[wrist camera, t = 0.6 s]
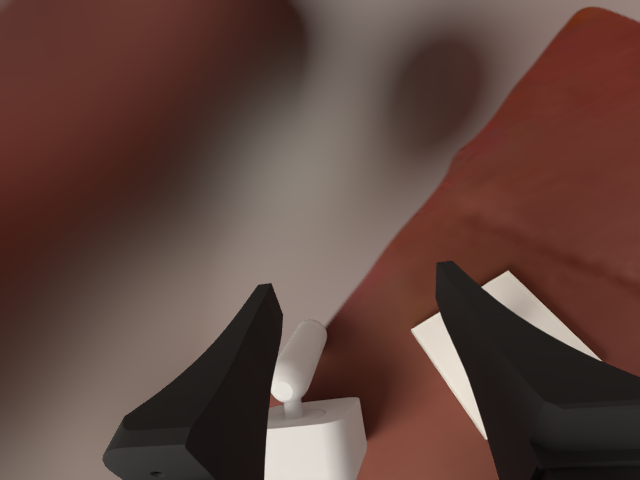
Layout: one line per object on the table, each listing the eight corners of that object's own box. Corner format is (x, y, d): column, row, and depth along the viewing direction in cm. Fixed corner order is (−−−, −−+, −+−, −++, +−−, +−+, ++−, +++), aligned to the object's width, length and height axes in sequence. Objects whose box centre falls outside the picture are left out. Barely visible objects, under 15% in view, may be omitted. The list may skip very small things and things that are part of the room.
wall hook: (351, 313, 29) (324, 304, 20) (372, 435, 26) (352, 491, 17) (274, 326, 31) (217, 324, 22) (284, 443, 28) (223, 497, 19)
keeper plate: (600, 368, 22) (634, 357, 19) (485, 439, 22) (496, 441, 19) (505, 275, 28) (517, 251, 24) (411, 332, 28) (409, 318, 24)
